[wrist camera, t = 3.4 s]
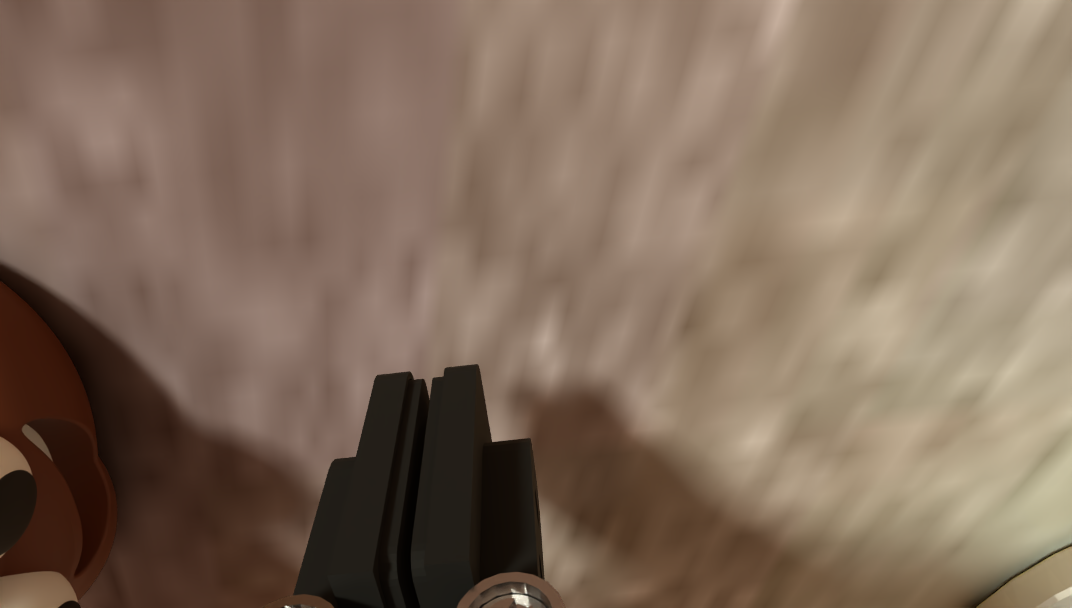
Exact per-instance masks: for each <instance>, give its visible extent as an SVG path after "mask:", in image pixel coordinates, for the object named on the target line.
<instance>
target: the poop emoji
mask: <svg viewBox="0 0 1072 608" xmlns="http://www.w3.org/2000/svg"><path fill="white" fill-rule="evenodd" d="M116 527H117V501H116V494H115V490H114V486H113V483H112V480H111V478H110V476H109V473H108V471H107V469H106V467H105V466H104V464H103V462H102V461H101V459H100V458H99V456H98V447H97V437H96V430H95V425H94V419H93V415H92V411H91V407H90V404H89V400H88V397H87V394H86V391H85V389H84V386H83V384H82V381H81V379H80V377H79V374H78V372H77V370H76V368H75V366H74V364H73V362H72V361H71V359H70V357H69V355H68V354H67V352H66V350H65V349H64V347H63V346H62V344H61V343H60V341H59V340H58V338H57V337H56V336H55V334H54V333H53V332H52V330H51V329H50V328H49V327H48V325H47V324H46V323H45V322H44V321H43V319H42V318H41V317H40V316H39V315H38V314H37V313H36V312H35V311H34V310H33V309H32V308H31V307H30V306H29V305H28V304H27V303H26V302H25V301H24V300H23V299H22V298H21V297H20V296H18V295H17V294H16V293H15V292H14V291H13V290H11V289H10V288H9V287H8V286H6V285H5V284H4V283H2V282H1V281H0V608H81V607H80V605H79V604H78V600H79V599H80V598H81V597H82V596H83V595H84V594H85V593H86V591H87V590H88V589H89V588H90V586H91V585H92V584H93V582H94V581H95V580H96V578H97V577H98V575H99V573H100V572H101V570H102V568H103V566H104V564H105V562H106V560H107V558H108V556H109V553H110V551H111V548H112V545H113V542H114V538H115V533H116Z"/></svg>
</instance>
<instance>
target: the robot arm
mask: <svg viewBox="0 0 1072 608" xmlns="http://www.w3.org/2000/svg"><path fill="white" fill-rule="evenodd" d="M262 608H565V605H564V603H563V601H562V599H561V597H560V595H559V593H558V592H557V591H556V590H555V589H554V588H553V587H552V586H551V585H550V584H549V583H548V582H547V581H545V580H544V566H543V552H542V537H541V523H540V511H539V500H538V490H537V481H536V473H535V465H534V458H533V450H532V444H531V439H530V438H527V439H518V440H509V441H499V442H492V439H491V433H490V427H489V421H488V415H487V410H486V404H485V398H484V392H483V386H482V380H481V374H480V369H479V366H478V364H475V365H466V366H457V367H447V368H445V370H444V377H436V378H433V380H432V387H431V395H430V400H429V395H428V391H427V386H426V383H425V380H424V379H417V380H414V378H413V375H412V373H411V372H401V373H392V374H383V375H377V376H376V378H375V381H374V385H373V389H372V393H371V397H370V401H369V405H368V409H367V413H366V418H365V422H364V426H363V430H362V434H361V438H360V442H359V446H358V451H357V455H356V457H350V458H341V459H335V460H334V461H333V462H332V463H331V466H330V468H329V471H328V474H327V478H326V481H325V485H324V488H323V492H322V495H321V499H320V502H319V506H318V510H317V513H316V517H315V520H314V524H313V527H312V531H311V534H310V538H309V541H308V545H307V548H306V552H305V555H304V559H303V562H302V566H301V569H300V573H299V576H298V580H297V584H296V587H295V591H294V594H293V596H287V597H284V598H281V599H278V600H276V601H273V602H270V603H269V604H267V605H266V606H264V607H262ZM976 608H1072V546H1071V547H1069V548H1066V549H1064V550H1062V551H1060V552H1058V553H1055V554H1054V555H1052V556H1050V557H1048V558H1047V559H1045V560H1043V561H1042V562H1040V563H1038V564H1037V565H1035V566H1033V567H1032V568H1030V569H1028V570H1027V571H1025V572H1023V573H1022V574H1020V575H1018V576H1017V577H1015V578H1013V579H1012V580H1010V581H1009V582H1008V583H1007V584H1005V585H1004V586H1003V587H1001V588H1000V589H999V590H998V591H996V592H995V593H994V594H992V595H991V596H990V597H989V598H987V599H986V600H985V601H983V602H982V603H981V604H980V605H978V606H977V607H976Z"/></svg>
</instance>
